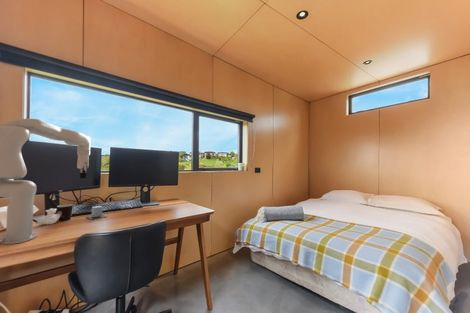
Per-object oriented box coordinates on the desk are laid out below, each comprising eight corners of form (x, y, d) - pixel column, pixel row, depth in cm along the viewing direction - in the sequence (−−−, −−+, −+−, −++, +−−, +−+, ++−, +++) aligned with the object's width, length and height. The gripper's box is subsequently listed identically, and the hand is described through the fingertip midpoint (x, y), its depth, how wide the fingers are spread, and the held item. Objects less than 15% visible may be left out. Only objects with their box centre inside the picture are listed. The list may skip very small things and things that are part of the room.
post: (90, 220, 140) (91, 210, 140) (86, 217, 146) (86, 207, 146) (106, 217, 148) (107, 207, 148) (102, 214, 154) (102, 205, 154)
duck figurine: (38, 230, 125) (44, 217, 123) (33, 221, 127) (39, 208, 125) (60, 224, 136) (67, 212, 134) (55, 216, 138) (62, 204, 136)
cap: (93, 217, 143) (94, 208, 143) (91, 215, 147) (91, 206, 147) (102, 215, 147) (102, 206, 147) (99, 214, 151) (99, 205, 151)
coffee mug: (74, 219, 141) (75, 205, 141) (59, 222, 133) (59, 207, 133) (68, 216, 147) (68, 203, 147) (53, 219, 140) (53, 205, 140)
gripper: (74, 152, 146) (73, 177, 146) (80, 152, 137) (79, 179, 137) (86, 153, 152) (86, 177, 152) (93, 153, 143) (92, 178, 142)
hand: (82, 178), depth 144 cm, fingers closed
